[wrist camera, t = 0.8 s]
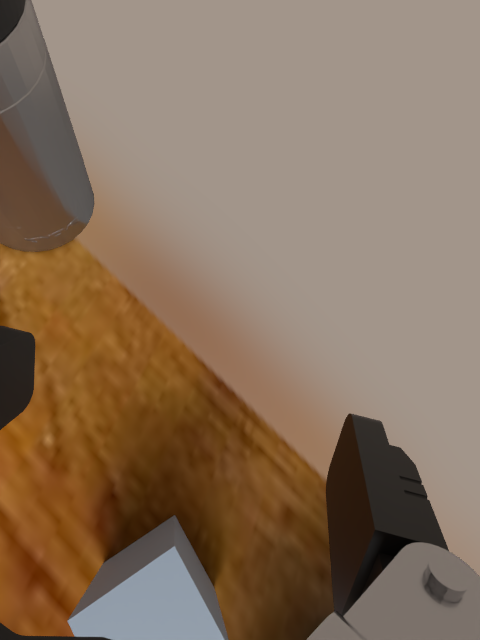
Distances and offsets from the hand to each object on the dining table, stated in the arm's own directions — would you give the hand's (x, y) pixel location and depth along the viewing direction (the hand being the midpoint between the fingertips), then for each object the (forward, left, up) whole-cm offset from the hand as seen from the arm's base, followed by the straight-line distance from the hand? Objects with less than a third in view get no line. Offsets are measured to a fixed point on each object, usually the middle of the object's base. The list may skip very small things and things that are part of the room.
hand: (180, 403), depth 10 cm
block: (+8, -6, -22) cm, 24 cm away
